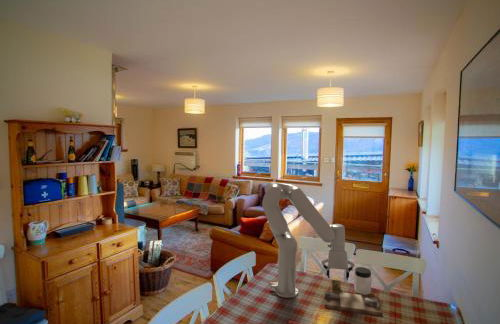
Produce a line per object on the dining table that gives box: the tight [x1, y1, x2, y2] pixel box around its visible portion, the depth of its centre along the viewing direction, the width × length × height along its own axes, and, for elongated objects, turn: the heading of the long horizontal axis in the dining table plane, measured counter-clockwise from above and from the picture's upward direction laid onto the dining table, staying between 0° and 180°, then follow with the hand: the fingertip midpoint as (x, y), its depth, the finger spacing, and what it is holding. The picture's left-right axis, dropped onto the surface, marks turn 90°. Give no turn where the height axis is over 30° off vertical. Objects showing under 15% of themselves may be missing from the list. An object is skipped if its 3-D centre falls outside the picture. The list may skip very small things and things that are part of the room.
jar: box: [353, 266, 372, 296], centre depth 158 cm, size 9×8×12 cm
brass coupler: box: [330, 275, 342, 292], centre depth 158 cm, size 5×6×7 cm
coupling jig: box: [324, 290, 383, 316], centre depth 145 cm, size 26×14×4 cm, turn 76°
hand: (337, 277), depth 158 cm, fingers open, 9 cm apart
